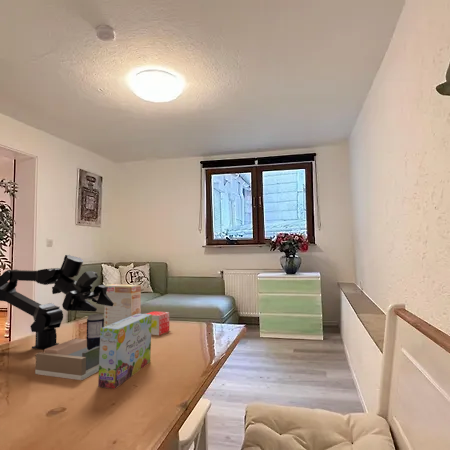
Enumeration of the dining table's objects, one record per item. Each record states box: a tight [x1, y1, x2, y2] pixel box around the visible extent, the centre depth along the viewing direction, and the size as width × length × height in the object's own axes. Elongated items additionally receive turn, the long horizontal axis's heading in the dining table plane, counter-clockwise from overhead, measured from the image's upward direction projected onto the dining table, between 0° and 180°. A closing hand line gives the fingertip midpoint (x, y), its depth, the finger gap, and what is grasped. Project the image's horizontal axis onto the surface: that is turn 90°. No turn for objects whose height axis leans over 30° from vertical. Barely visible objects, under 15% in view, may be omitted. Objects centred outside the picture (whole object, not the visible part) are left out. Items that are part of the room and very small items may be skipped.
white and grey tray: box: [35, 351, 99, 381], centre depth 102 cm, size 16×18×6 cm
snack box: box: [97, 313, 152, 390], centre depth 96 cm, size 21×6×15 cm, turn 168°
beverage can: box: [86, 313, 104, 350], centre depth 119 cm, size 6×6×12 cm
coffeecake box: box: [103, 283, 142, 327], centre depth 149 cm, size 15×7×20 cm, turn 66°
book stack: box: [43, 338, 87, 357], centre depth 103 cm, size 4×13×5 cm, turn 162°
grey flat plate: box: [82, 345, 100, 370], centre depth 100 cm, size 1×12×5 cm, turn 162°
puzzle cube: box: [146, 310, 170, 336], centre depth 144 cm, size 8×8×8 cm
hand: (104, 307), depth 116 cm, fingers open, 9 cm apart
